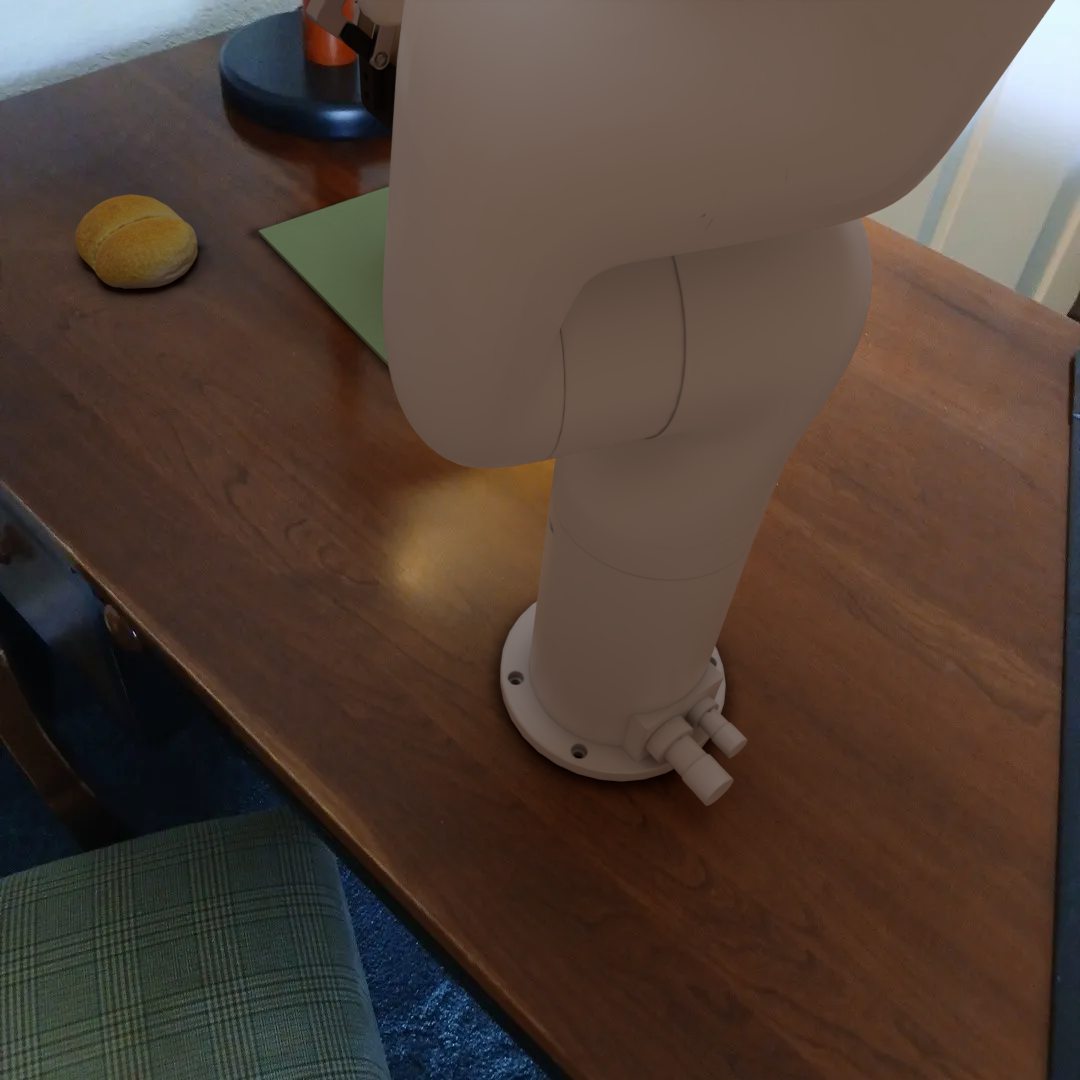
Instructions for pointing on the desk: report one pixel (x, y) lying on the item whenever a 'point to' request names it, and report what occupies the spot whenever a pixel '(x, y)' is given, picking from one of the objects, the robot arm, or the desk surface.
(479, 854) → the desk surface
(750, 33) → the robot arm
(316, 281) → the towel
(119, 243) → the bread roll
